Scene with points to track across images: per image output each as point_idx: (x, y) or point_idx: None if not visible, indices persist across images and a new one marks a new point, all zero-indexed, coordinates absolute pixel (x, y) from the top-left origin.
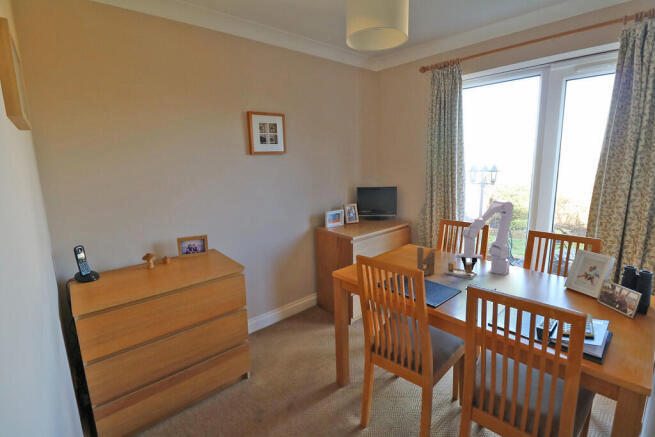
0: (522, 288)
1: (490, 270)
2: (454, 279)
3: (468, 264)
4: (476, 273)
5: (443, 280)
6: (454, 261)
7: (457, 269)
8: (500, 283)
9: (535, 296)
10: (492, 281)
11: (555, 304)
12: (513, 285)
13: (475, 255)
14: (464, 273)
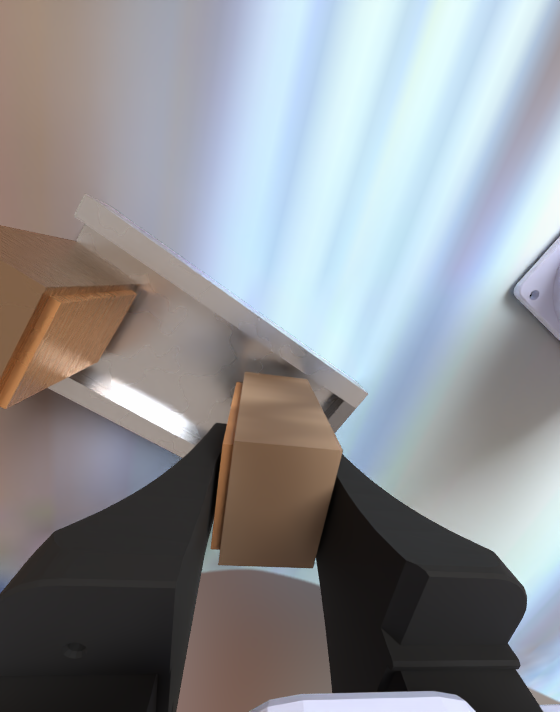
0: (542, 579)
1: (550, 271)
2: (117, 490)
3: (254, 559)
4: (353, 403)
5: (12, 517)
6: (8, 267)
7: (163, 273)
8: (458, 528)
9: (533, 650)
10: (421, 501)
11: (555, 696)
12: (521, 548)
13: None
14: (230, 392)
